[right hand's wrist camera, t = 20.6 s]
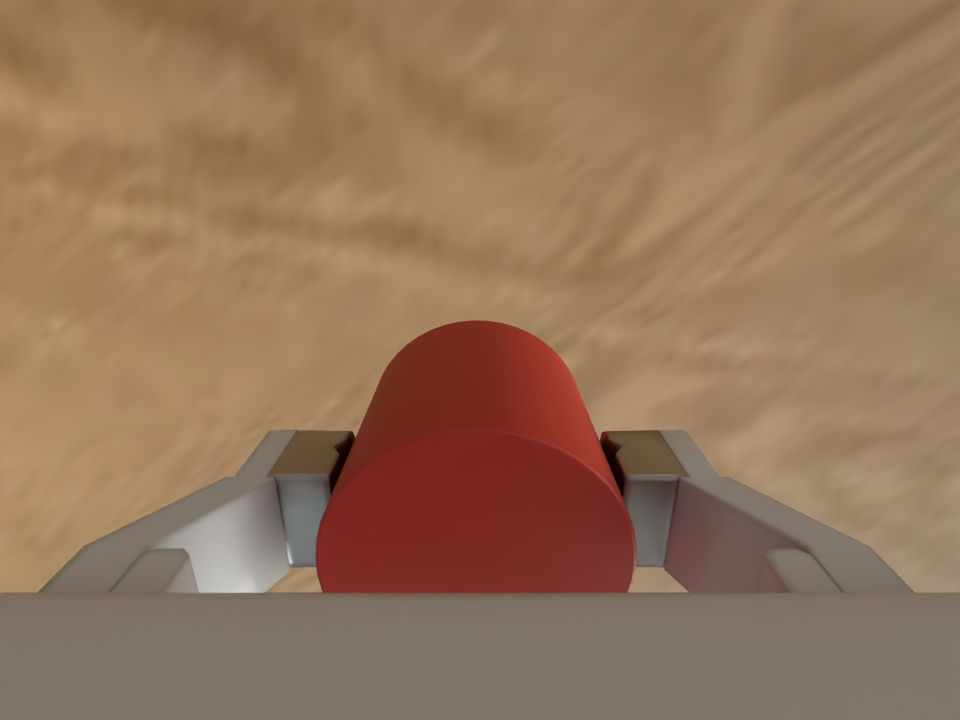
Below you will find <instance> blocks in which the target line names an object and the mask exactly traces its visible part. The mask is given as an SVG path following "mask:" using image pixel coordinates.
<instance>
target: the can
mask: <svg viewBox="0 0 960 720" xmlns="http://www.w3.org/2000/svg"><path fill="white" fill-rule="evenodd" d="M315 558H316V567H317V574H318V578H319V582H320V585H321V589H322V591H323V593H629V592H630V589H631V586H632V583H633V580H634V574H635V568H636V563H637V545H636V538H635V532H634V528H633V525H632V522H631V519H630V516H629V513H628V510H627V508H626V505H625V503H624V500H623V498H622V496H621V493H620V491H619V488H618V486H617V483H616V481H615V478H614V476H613V473H612V471H611V469H610V466H609V464H608V461H607V459H606V456H605V454H604V451H603V449H602V447H601V444H600V442H599V439H598V437H597V434H596V432H595V429H594V427H593V424H592V422H591V420H590V417H589V415H588V412H587V410H586V407H585V405H584V402H583V400H582V397H581V395H580V393H579V390H578V388H577V385H576V383H575V380H574V378H573V376H572V374H571V373H570V371H569V369H568V367H567V366H566V364H565V363H564V362H563V360H562V359H561V358H560V357H559V356H558V354H557V353H556V352H555V351H554V350H553V349H552V348H551V347H549V346H548V345H547V344H546V343H544V342H543V341H542V340H540V339H539V338H537V337H535V336H534V335H532V334H530V333H528V332H526V331H524V330H521V329H519V328H517V327H514V326H510V325H507V324H503V323H498V322H491V321H463V322H456V323H452V324H447V325H443V326H441V327H438V328H435V329H432V330H430V331H428V332H426V333H424V334H422V335H421V336H419V337H417V338H416V339H414V340H413V341H411V342H410V343H409V344H407V345H406V346H405V347H404V348H403V349H402V350H401V351H400V352H399V353H398V354H397V355H396V356H395V357H394V358H393V360H392V361H391V362H390V363H389V365H388V366H387V368H386V370H385V371H384V373H383V375H382V377H381V380H380V382H379V384H378V387H377V389H376V391H375V394H374V396H373V398H372V401H371V403H370V405H369V408H368V410H367V412H366V415H365V417H364V419H363V422H362V424H361V427H360V429H359V431H358V434H357V436H356V438H355V441H354V443H353V445H352V448H351V450H350V452H349V455H348V457H347V459H346V462H345V464H344V466H343V469H342V471H341V474H340V476H339V478H338V481H337V483H336V485H335V488H334V490H333V492H332V495H331V497H330V499H329V502H328V504H327V506H326V509H325V511H324V514H323V516H322V518H321V521H320V524H319V529H318V533H317V537H316V551H315Z"/></svg>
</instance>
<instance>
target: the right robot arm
mask: <svg viewBox="0 0 960 720" xmlns="http://www.w3.org/2000/svg"><path fill="white" fill-rule="evenodd" d="M354 441H355V436H354V434H353V432H352V431H315V430H300V431H299V430H273V431H269V432H268V433H267V434H266V436H265V437H264V438H263V440H262V441H261V442H260V444H259V445H258V446H257V448H256V449H255V450H254V452H253V453H252V454H251V456H250V457H249V458H248V460H247V461H246V462H245V464H244V465H243V466H242V468H241V469H240V470H239V472H238V473H237V474H236V476H235V477H225V478H223V479H221V480H219V481H217V482H215V483H213V484H211V485H209V486H207V487H205V488H203V489H200V490H198V491H196V492H194V493H192V494H190V495H188V496H186V497H184V498H182V499H180V500H178V501H176V502H174V503H172V504H170V505H168V506H166V507H164V508H161V509H159V510H157V511H155V512H153V513H151V514H149V515H147V516H145V517H143V518H141V519H139V520H137V521H135V522H133V523H131V524H129V525H127V526H124V527H122V528H120V529H118V530H116V531H114V532H112V533H110V534H108V535H106V536H104V537H102V538H100V539H98V540H96V541H94V542H92V543H90V544H88V545H85V546H84V547H83V548H82V549H81V550H80V551H79V552H78V553H77V554H76V555H75V556H74V557H73V558H72V559H71V560H70V561H69V562H68V563H67V564H66V565H65V566H64V567H63V568H62V569H61V570H60V571H59V572H58V573H57V574H56V575H55V576H54V577H53V578H52V579H51V580H50V581H49V582H48V583H47V584H46V585H45V586H44V587H43V588H42V589H41V590H40V591H39V592H38V593H0V720H960V593H915V592H914V591H913V590H912V589H911V588H910V587H909V586H908V585H907V584H906V583H905V582H904V581H903V580H902V579H901V578H900V577H899V576H898V575H897V574H896V573H895V572H894V571H893V570H892V569H891V568H890V566H889V565H888V564H887V563H886V562H885V561H884V560H883V559H882V558H881V557H880V556H879V555H878V554H877V553H876V552H875V551H874V550H873V549H872V548H871V547H869V546H867V545H865V544H863V543H861V542H859V541H857V540H855V539H853V538H851V537H849V536H847V535H845V534H843V533H841V532H839V531H837V530H835V529H833V528H831V527H829V526H827V525H825V524H823V523H821V522H819V521H817V520H815V519H813V518H810V517H808V516H806V515H804V514H802V513H800V512H798V511H796V510H794V509H792V508H790V507H788V506H786V505H784V504H782V503H780V502H778V501H776V500H774V499H772V498H770V497H768V496H766V495H764V494H762V493H760V492H758V491H756V490H754V489H752V488H750V487H748V486H746V485H744V484H742V483H740V482H738V481H735V480H733V479H731V478H729V477H720V476H719V475H718V473H717V472H716V471H715V469H714V468H713V467H712V465H711V464H710V463H709V461H708V460H707V459H706V457H705V456H704V455H703V453H702V452H701V451H700V449H699V448H698V446H697V445H696V444H695V442H694V441H693V440H692V438H691V437H690V436H689V434H688V433H687V432H686V431H684V430H659V431H658V430H645V431H606V432H602V434H601V438H600V444H601V447H602V449H603V451H604V454H605V456H606V459H607V461H608V464H609V466H610V469H611V471H612V473H613V476H614V478H615V481H616V483H617V486H618V488H619V491H620V493H621V496H622V498H623V500H624V503H625V505H626V508H627V510H628V513H629V516H630V519H631V522H632V525H633V528H634V532H635V538H636V545H637V563H636V567H665V569H664V570H665V571H667V572H668V573H669V574H670V575H671V576H672V577H673V578H674V579H675V580H677V581H678V582H679V583H680V584H681V585H682V586H683V587H684V588H685V589H686V590H688V591H689V592H690V593H265V592H266V591H267V590H268V589H270V588H271V587H272V586H273V585H274V584H275V583H276V582H277V581H279V580H280V579H281V578H282V577H283V576H284V575H285V574H286V573H288V572H289V571H290V567H316V558H315V551H316V537H317V533H318V529H319V524H320V521H321V518H322V516H323V514H324V511H325V509H326V506H327V504H328V502H329V499H330V497H331V495H332V492H333V490H334V488H335V485H336V483H337V481H338V478H339V476H340V474H341V471H342V469H343V466H344V464H345V462H346V459H347V457H348V455H349V452H350V450H351V448H352V445H353V443H354Z"/></svg>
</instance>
